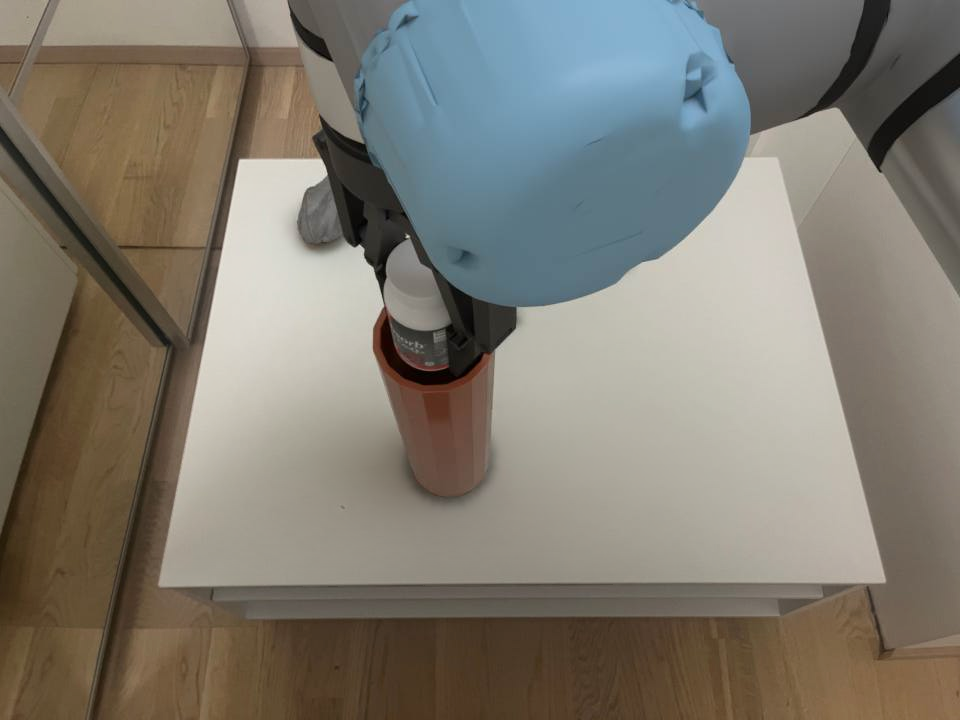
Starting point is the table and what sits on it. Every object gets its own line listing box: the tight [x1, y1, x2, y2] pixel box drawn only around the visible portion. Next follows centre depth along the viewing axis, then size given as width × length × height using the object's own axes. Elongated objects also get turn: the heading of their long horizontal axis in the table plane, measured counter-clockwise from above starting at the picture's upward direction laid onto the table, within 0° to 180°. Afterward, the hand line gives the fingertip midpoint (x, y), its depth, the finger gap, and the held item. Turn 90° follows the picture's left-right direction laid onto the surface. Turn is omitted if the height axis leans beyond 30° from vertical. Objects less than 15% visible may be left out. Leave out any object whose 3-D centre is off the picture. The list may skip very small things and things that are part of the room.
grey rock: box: [296, 174, 343, 245], centre depth 90 cm, size 11×9×8 cm
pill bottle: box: [384, 239, 452, 371], centre depth 46 cm, size 6×6×10 cm
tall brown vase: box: [372, 306, 496, 498], centre depth 65 cm, size 9×9×32 cm
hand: (434, 335), depth 50 cm, fingers closed on pill bottle, 6 cm apart
